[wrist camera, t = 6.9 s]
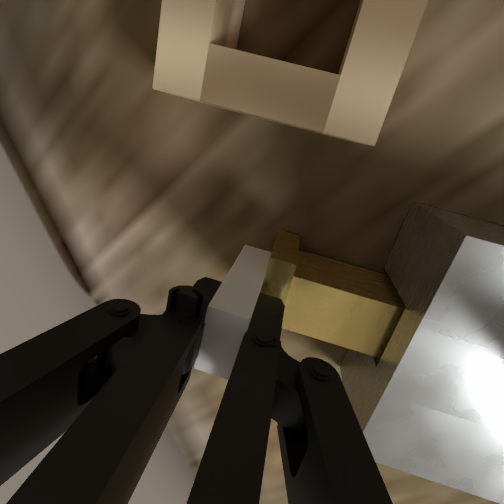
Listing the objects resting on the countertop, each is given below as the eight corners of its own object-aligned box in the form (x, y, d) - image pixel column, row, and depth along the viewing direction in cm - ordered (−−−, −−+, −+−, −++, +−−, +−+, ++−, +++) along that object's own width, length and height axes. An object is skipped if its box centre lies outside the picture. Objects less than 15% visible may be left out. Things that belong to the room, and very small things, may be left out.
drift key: (279, 229, 18) (269, 257, 14) (469, 283, 17) (520, 330, 13) (259, 296, 19) (246, 339, 15) (432, 348, 19) (467, 408, 14)
